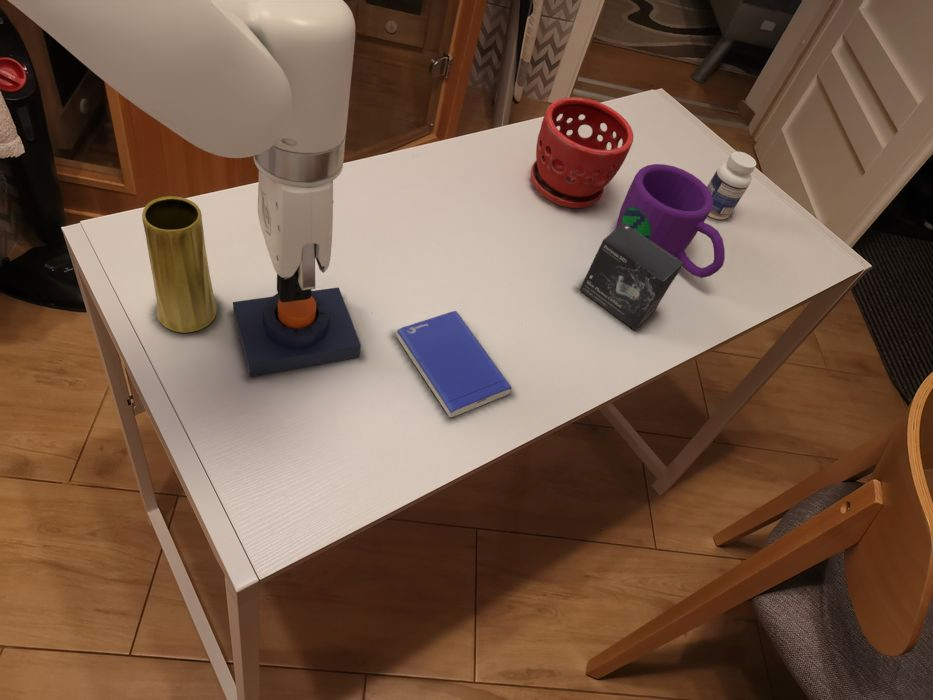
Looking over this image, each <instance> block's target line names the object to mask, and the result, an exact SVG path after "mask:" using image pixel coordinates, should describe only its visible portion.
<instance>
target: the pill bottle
mask: <svg viewBox="0 0 933 700" xmlns="http://www.w3.org/2000/svg"><path fill="white" fill-rule="evenodd" d="M756 166H757V161H756V160H755V158H754V157H752V156H751V155H750V154H748V153H747V152H743V151H737V150H736V151H733V152H732V153H731V154H730V156H729V157H728V159H727V161H726V162H723V163H721V164H720V165H719V166H718V167H717V169H716V171H715V172H714V174H713V176H712V178H711V179H710V181H709V183H708V184H707V185H706V186H707V188H708V189H709V191H710V192H711V194H712V197H713V208H712V210H711V211H710V213H709V215H708V216H707V217H710V218H713V219H716V220H725V219H728V218H729V217H730V216H731V214H732V213H733V212H734V210H735V208H736V207H737V205H738V203H739V202H740V201H741V199H742V197H743V196H744V194H745V192H746V191H747V190H748V188H749V186H750V185H751V182H752V173H753V172H754V170H755V168H756Z"/></svg>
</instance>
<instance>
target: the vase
mask: <svg viewBox="0 0 933 700" xmlns="http://www.w3.org/2000/svg"><path fill="white" fill-rule="evenodd" d="M141 214H142V215H141V220H142V224H143V227H144V234H145V239H146V245H147V251H148V257H149V263H150V269H151V274H152V280H153V287H154V293H155V298H156V305H157V309H156V315H157V319H158V321H159V322H160V323H161V325H163V326H164V327H165V328H166V329H168V330H170V331H173V332H177V333H183V334H185V333H186V334H187V333H192V332H198V331H200V330H203V329H205V328H206V327H208V326H209V325H211V324H212V322H213V321H214V320H215V318H216V316H217V304H216V301H215V297H214V296H215V295H214V291H213V290H214V289H213V284H212V278H211V273H210V267H209V261H208V255H207V248H206V242H205V241H206V240H205V232H204V226H203V217H202V216H203V215H202V211H201V209H200V208H199V206H198V205H197V203H195V201H192V200H190V199H188V198H185V197H182V196H175V195H174V196H173V195H168V196H167V195H166V196H162V197H161V196H160V197H158V198H155V199H152V200H150V201H149V202H148V203H147V204H146V205H145V206H144V207H143V210H142V213H141Z"/></svg>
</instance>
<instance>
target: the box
mask: <svg viewBox="0 0 933 700" xmlns="http://www.w3.org/2000/svg"><path fill="white" fill-rule="evenodd" d="M683 264H684V263H683V262H682V261H680V260H679V259H677V258H675V257H673V256H672V255H671V254H669V253H668V252H666V251H665V250H663V249H662V248H660V247H659V246H657V245H656V244H655V243H653V242H651V241H650V240H649V239H647V238H646V237H644V236H643V235H641V234H640V233H638V232H637V231H635V230H634V229H632V228H631V227H630V226H629V225H628V224H626V223H623V224H622V225H620V226H619V227H618V228H617V229H616V228H615V229H614V230H613V231H612V232H611V233H609V234H608V235H606V237H605V238H604V239H603V240H602V241H601V244H600V246H599V247H598V250H597V253H595V256H594V258H593V260H592V262H591V265H590V267H589V269H588V271H587V273H586V275H585V277H584V279H583V281H582V284H581V286H580V287H579V291H580V292H582V293H583V294H585V295H586V296H587V297H589V298H590V299H592V300H593V302H596V304H598V305H600V306H601V307H603V308H604V309H605V310H606V311H608V312H609V313H610V314H612V315H613V316H615V317H616V318H618V319H619V320H620V321H621V322H623V323H624V324H625V325H626V326H628V327H630V328H631V329H632V330H634V331H636V330H637V329H638V328H639V327H640V326H641V325H642V324H643V323H644V322H645V321H646V320H647V319H648V318H649V317H650V316H652V315H653V314H654V312H655V311H656V309H657V308H658V306H659V304H660V303H661V301H662V299H663V298H664V296H665V294H666V293H667V291H668V290H669V288H670V286H671V285H672V283H673V282H674V280H675V279H676V277H677V275H678V273H680V270H681V269H682V268H683Z"/></svg>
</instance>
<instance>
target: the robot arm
mask: <svg viewBox="0 0 933 700" xmlns="http://www.w3.org/2000/svg"><path fill="white" fill-rule="evenodd" d="M7 1H8V2H9V3H10V4H12V6H14V7H15V8H17V9H18V10H19V11H20V12H21V13H23V14H24V15H25V16H27V17H28V18H29V19H30V20H31V21H33V22H34V23H35V24H36V25H37V26H38V27H39V28H41V29H42V30H43V31H45V32H46V33H47V34H48V35H49V36H50V37H52V38H53V39H54V40H55V41H56V42H57V43H59V45H61V46H62V47H63V48H64V49H65V50H66V51H68V52H69V53H70V54H71V55H72V56H74V57H75V58H76V59H77V60H78V61H79V62H81V63H82V64H83V65H84V66H85V67H87V69H89V70H90V71H91V72H92V73H93V74H94V75H96V76H97V77H98V78H100V79H101V80H102V81H103V82H105V84H107V85H108V86H109V87H110V88H112V89H114V90H115V91H116V92H117V93H118V94H120V95H121V96H122V97H123V98H125V99H126V100H127V101H129V102H130V103H132V105H134V106H135V107H137V108H138V109H140V110H141V111H143V112H144V113H145V114H146V115H148V116H150V117H151V118H153V119H155V120H156V121H157V122H158V123H160V124H162V125H163V126H165V127H166V128H167V129H169V130H170V131H172V132H174V133H175V134H177V135H178V136H179V137H181V138H182V139H183V140H185V141H187V142H188V143H189V144H191V145H193V146H194V147H196V148H198V149H200V150H202V151H204V152H206V153H209V154H212V155H215V156H218V157H224V158H229V159H242V158H243V159H244V158H250V157H253V163H254V165H255V166H256V168H257V169H258V184H257V185H258V186H257V217H258V223H259V226H260V229H261V233H262V235H263V239H264V243H265V245H266V249H267V251H268V255H269V258H270V261H271V264H272V266H273V269H274V272H275V273H276V291H277V292H276V293H277V294H279V298H280V301H281V302H291V301H298V300H306V299H309V298H311V291H313V290H315V289H316V263H317V266H318V268H319V269H318V270H319V271H320V272H322V273H323V274H324V273H326V271H327V270H328V268H329V267H330V262H331V257H332V245H333V230H334V229H333V227H334V226H333V224H334V203H335V201H334V181H335V180H336V179H337V178H338V177H339V176H340V175H341V173H342V172H343V168H344V159H345V149H346V139H347V137H346V136H347V129H348V127H347V126H348V118H349V117H348V116H349V108H350V107H349V106H350V98H351V97H350V95H351V86H352V85H351V84H352V74H353V65H354V54H355V45H356V21H355V18H354V17H355V16H354V14H353V12H352V10H351V8H350V7H349V5H348V4H347V3H346V2H345V1H344V0H7Z"/></svg>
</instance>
